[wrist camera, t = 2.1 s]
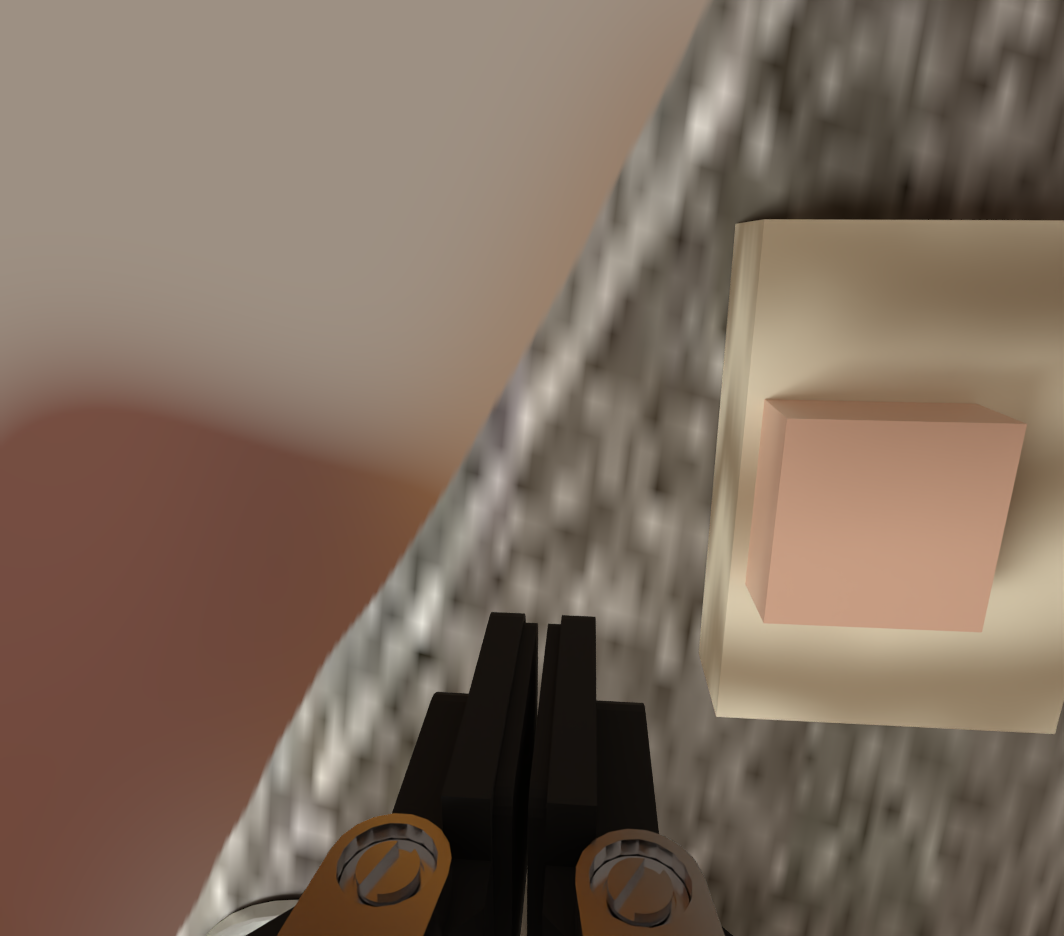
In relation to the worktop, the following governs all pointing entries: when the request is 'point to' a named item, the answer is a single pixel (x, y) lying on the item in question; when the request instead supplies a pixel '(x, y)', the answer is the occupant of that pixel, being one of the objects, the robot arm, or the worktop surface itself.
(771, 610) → the tile
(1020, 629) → the beige rectangular block
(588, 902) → the robot arm
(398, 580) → the worktop surface
